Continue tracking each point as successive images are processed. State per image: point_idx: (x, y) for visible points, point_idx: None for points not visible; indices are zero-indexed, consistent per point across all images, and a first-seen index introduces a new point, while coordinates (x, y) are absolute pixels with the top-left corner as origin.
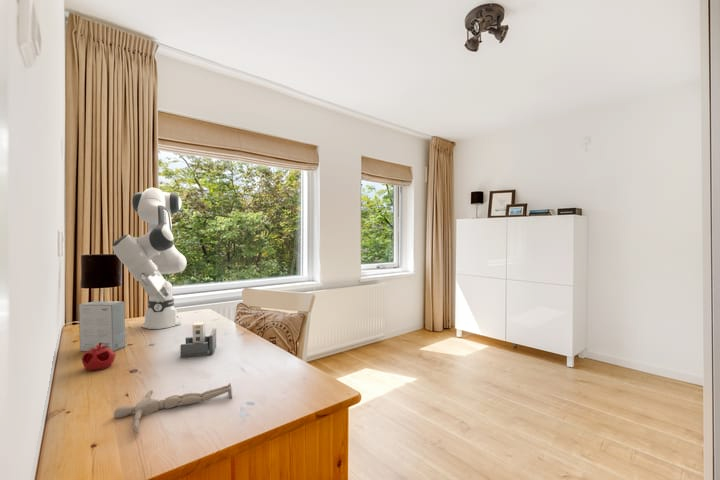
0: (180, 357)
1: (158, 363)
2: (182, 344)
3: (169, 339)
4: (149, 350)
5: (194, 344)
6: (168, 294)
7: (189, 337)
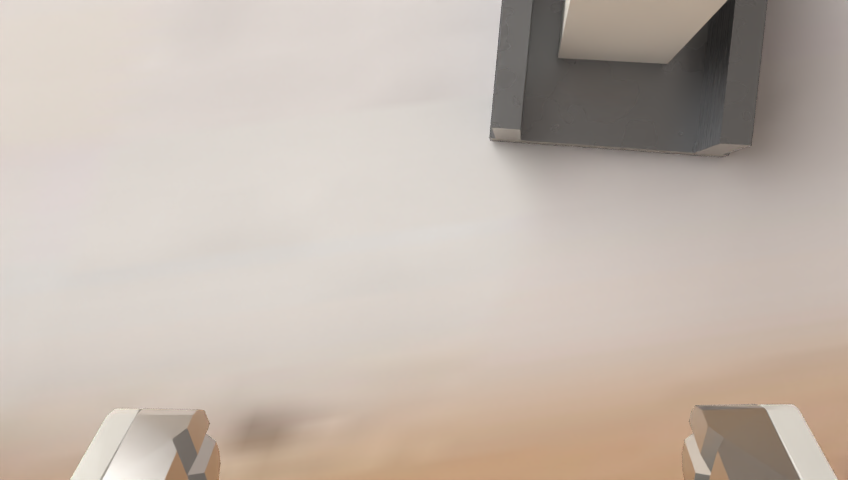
0: (722, 156)
1: (800, 308)
2: (734, 129)
3: (158, 314)
4: (417, 426)
5: (764, 16)
6: (199, 413)
7: (500, 95)
